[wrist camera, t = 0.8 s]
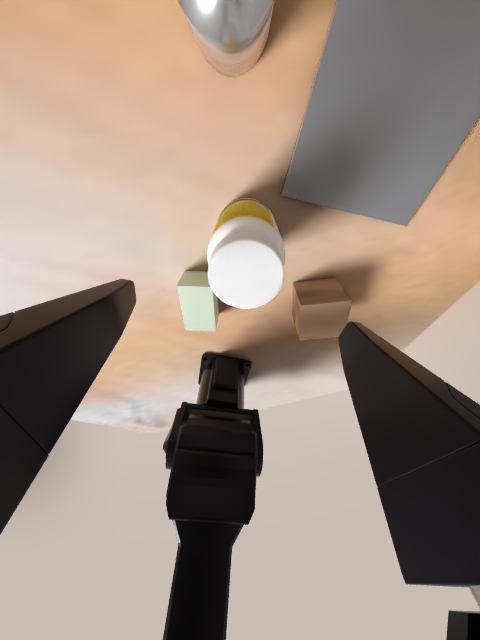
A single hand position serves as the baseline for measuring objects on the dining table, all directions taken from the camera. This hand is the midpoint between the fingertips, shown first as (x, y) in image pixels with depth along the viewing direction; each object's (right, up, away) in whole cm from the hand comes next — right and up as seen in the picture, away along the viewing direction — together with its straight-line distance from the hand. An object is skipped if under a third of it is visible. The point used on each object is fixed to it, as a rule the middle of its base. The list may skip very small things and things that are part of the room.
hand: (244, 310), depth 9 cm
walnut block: (+7, +2, +13) cm, 15 cm away
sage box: (-4, +2, +13) cm, 14 cm away
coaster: (+9, +12, +4) cm, 15 cm away
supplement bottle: (0, +7, +9) cm, 11 cm away
